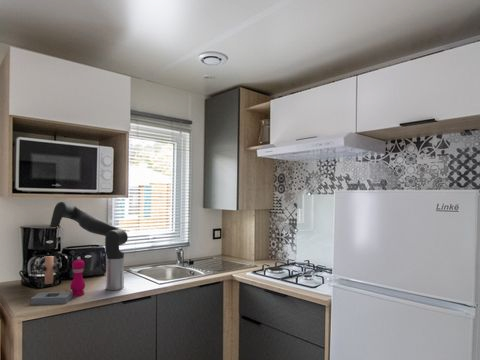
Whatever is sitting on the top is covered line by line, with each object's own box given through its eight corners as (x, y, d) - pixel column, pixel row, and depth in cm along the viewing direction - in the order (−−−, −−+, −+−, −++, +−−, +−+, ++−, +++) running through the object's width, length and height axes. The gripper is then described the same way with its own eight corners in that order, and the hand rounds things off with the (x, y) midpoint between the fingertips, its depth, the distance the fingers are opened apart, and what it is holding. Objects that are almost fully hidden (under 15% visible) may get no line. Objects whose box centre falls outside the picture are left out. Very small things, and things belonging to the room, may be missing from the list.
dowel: (54, 282, 182) (54, 255, 183) (51, 283, 178) (52, 257, 179) (46, 282, 182) (46, 255, 182) (43, 284, 178) (43, 257, 178)
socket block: (72, 297, 176) (72, 291, 176) (66, 303, 166) (66, 297, 167) (39, 298, 174) (39, 292, 174) (30, 304, 164) (30, 298, 164)
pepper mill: (71, 297, 176) (72, 258, 177) (68, 293, 182) (70, 256, 183) (86, 295, 181) (87, 257, 181) (83, 291, 186) (84, 255, 187)
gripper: (31, 258, 188) (34, 263, 174) (60, 255, 196) (65, 260, 182) (31, 271, 188) (33, 277, 174) (60, 268, 196) (64, 274, 182)
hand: (49, 268), depth 178 cm, fingers closed on dowel, 4 cm apart
